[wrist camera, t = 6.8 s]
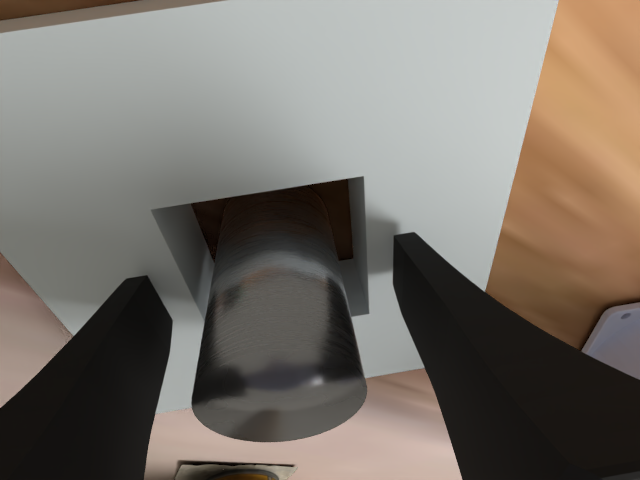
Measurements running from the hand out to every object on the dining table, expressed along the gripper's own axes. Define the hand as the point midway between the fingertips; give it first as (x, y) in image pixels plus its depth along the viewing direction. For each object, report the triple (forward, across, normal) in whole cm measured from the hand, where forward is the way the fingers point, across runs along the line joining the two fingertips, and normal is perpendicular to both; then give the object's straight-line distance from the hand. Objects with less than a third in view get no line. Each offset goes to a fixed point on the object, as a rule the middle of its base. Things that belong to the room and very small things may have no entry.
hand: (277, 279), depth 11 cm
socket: (+3, 0, 0) cm, 3 cm away
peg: (+3, 0, 0) cm, 3 cm away
